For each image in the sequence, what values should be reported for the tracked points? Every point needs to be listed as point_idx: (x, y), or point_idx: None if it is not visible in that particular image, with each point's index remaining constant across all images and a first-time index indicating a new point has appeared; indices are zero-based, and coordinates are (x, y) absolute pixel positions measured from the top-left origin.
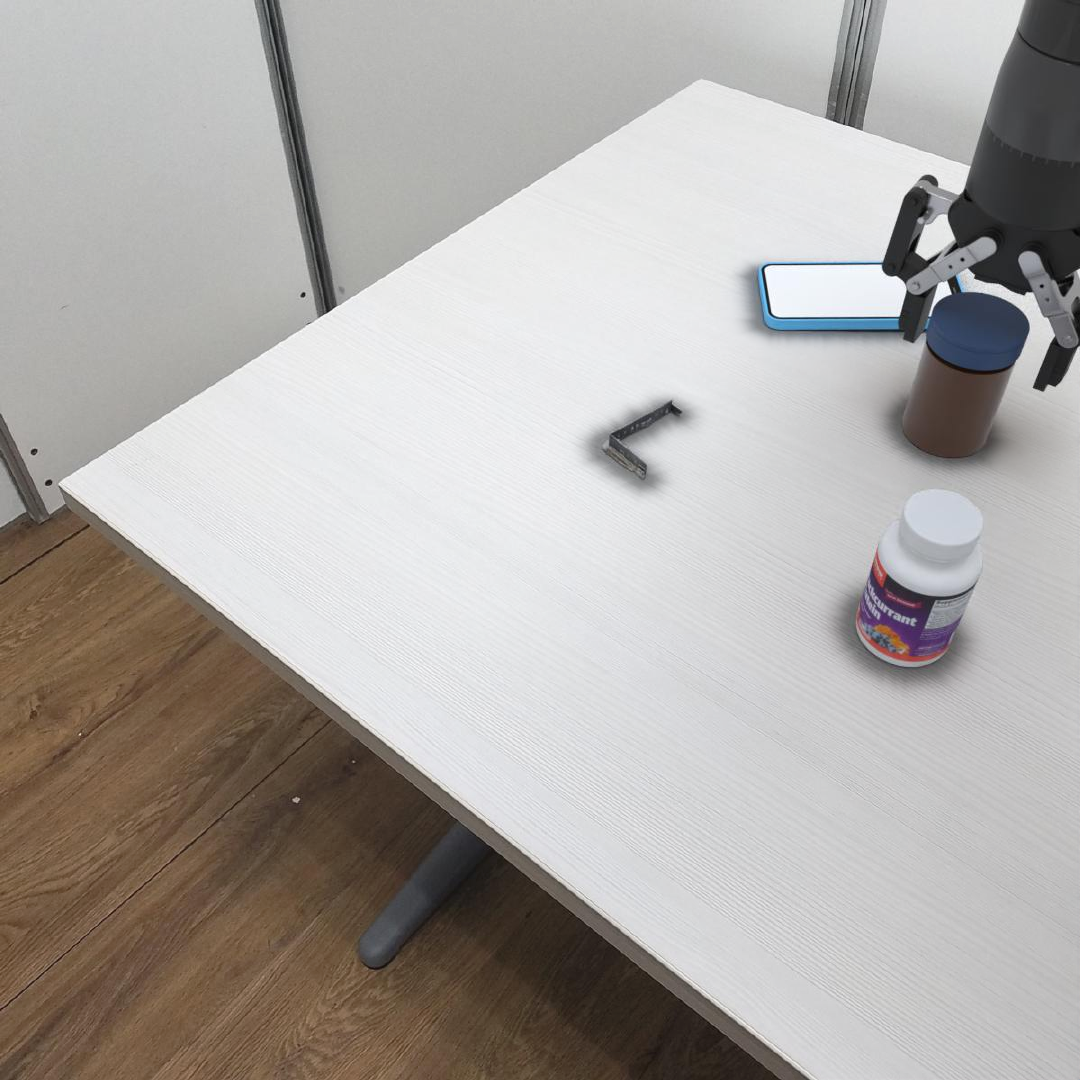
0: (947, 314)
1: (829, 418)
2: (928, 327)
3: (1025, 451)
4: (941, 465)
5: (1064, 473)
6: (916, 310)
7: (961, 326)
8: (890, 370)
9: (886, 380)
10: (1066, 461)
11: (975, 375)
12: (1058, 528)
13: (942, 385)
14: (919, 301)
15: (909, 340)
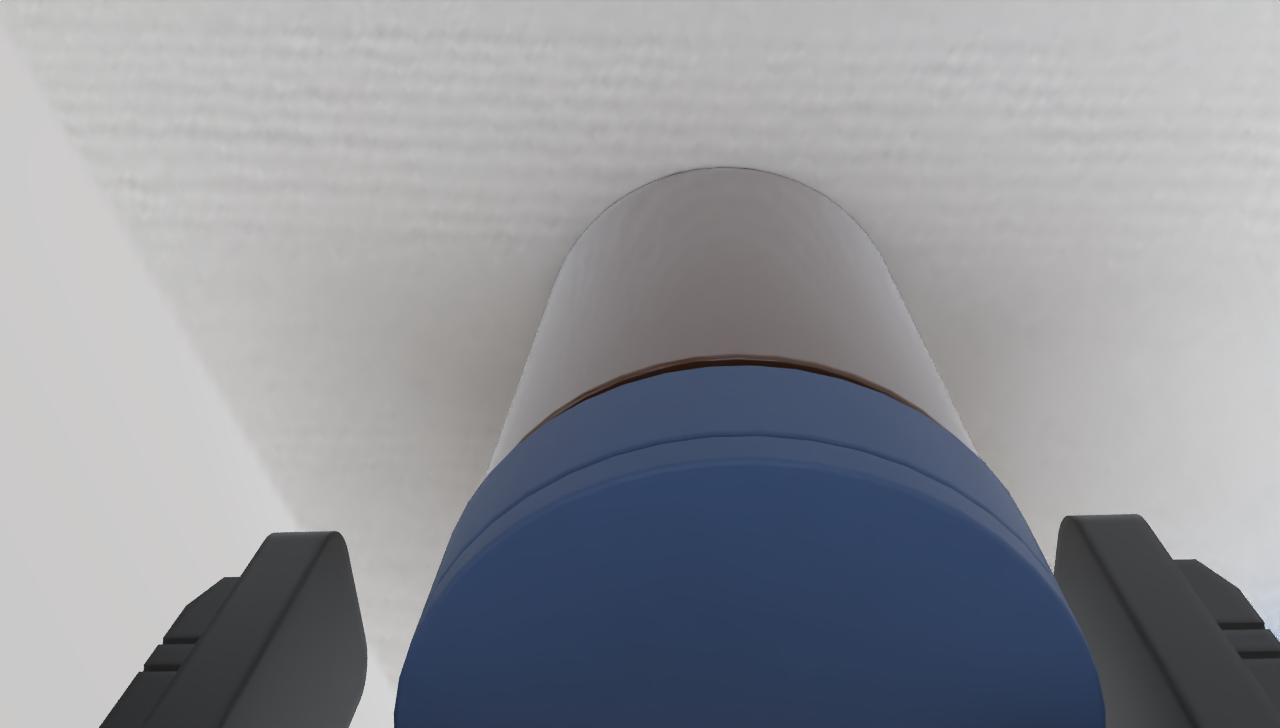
0: (982, 701)
1: (1196, 111)
2: (1051, 572)
3: (407, 407)
4: (634, 130)
5: (237, 378)
6: (1202, 664)
7: (834, 634)
8: (1050, 538)
9: (1044, 477)
10: (266, 441)
11: (597, 385)
12: (83, 69)
13: (768, 297)
14: (1237, 725)
15: (1096, 516)
